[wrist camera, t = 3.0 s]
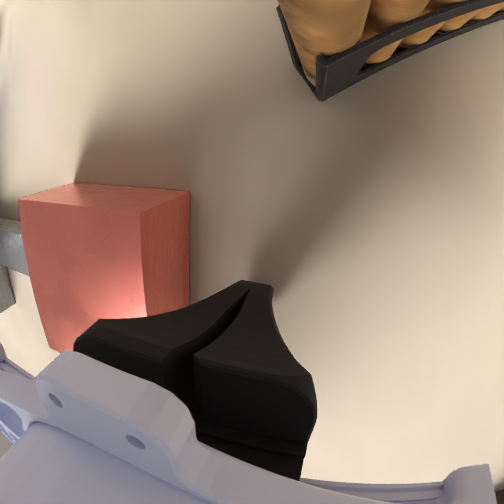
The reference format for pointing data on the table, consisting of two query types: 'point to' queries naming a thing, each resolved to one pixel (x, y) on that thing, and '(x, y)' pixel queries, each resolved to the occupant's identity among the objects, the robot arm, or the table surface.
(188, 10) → the table surface
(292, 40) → the ammunition clip
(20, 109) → the table surface
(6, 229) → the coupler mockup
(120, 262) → the red block
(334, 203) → the table surface
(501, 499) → the plant pot
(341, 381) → the table surface
